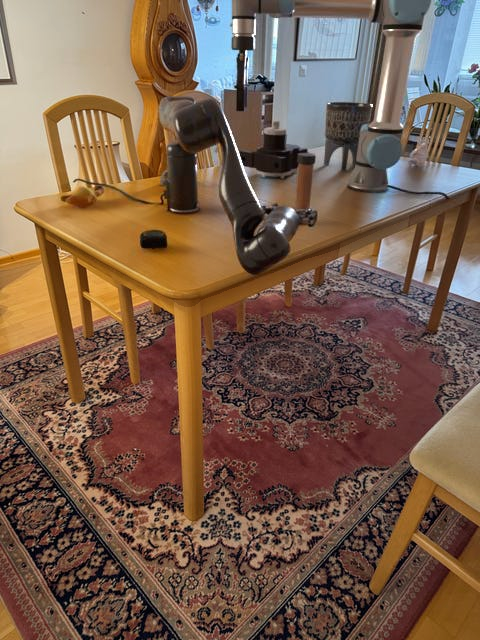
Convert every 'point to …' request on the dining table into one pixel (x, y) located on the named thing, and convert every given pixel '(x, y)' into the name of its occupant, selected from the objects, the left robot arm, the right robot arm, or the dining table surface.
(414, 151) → the figurine
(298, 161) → the lid
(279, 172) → the mechanical component
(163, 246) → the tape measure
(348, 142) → the planter
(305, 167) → the pinkish brown rounded rod
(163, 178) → the rock
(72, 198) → the toy
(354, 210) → the dining table surface
